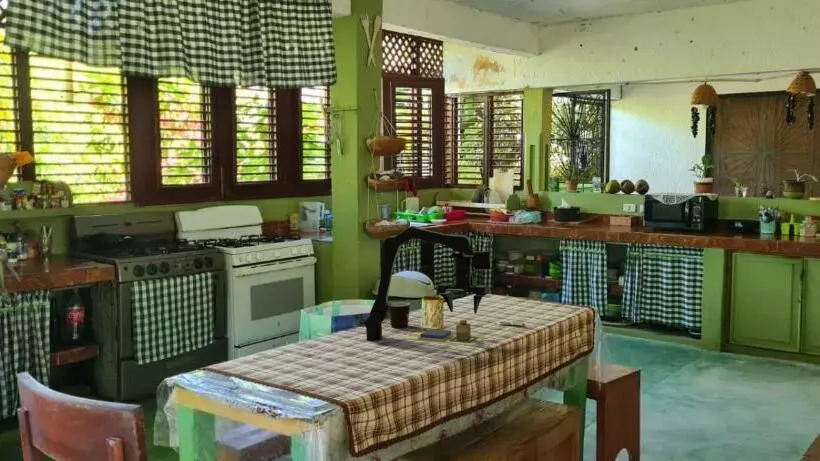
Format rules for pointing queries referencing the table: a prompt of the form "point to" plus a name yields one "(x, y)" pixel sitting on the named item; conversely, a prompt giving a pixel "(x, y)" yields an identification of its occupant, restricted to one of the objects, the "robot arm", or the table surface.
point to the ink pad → (436, 335)
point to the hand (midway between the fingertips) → (463, 312)
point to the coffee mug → (399, 315)
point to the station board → (450, 340)
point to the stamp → (463, 331)
